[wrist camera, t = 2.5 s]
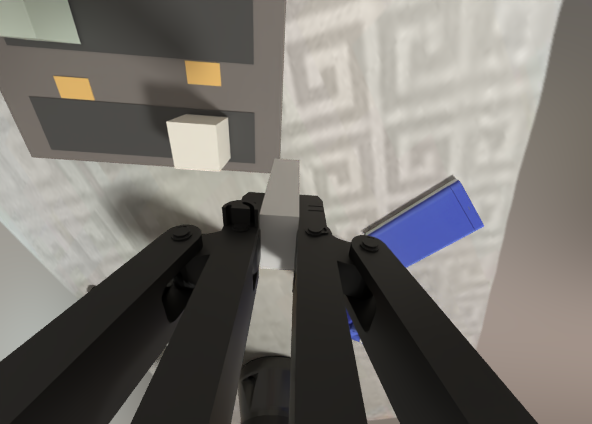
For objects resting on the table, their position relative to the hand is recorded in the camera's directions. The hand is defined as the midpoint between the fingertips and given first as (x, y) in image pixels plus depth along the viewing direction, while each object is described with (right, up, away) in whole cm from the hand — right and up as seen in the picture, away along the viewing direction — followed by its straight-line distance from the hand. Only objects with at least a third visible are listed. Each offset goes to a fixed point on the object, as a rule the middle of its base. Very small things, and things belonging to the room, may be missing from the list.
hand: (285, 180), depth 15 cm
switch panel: (-14, +11, +9) cm, 19 cm away
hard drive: (+17, -4, +18) cm, 25 cm away
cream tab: (-8, +5, +9) cm, 13 cm away
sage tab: (-19, +14, +4) cm, 24 cm away
